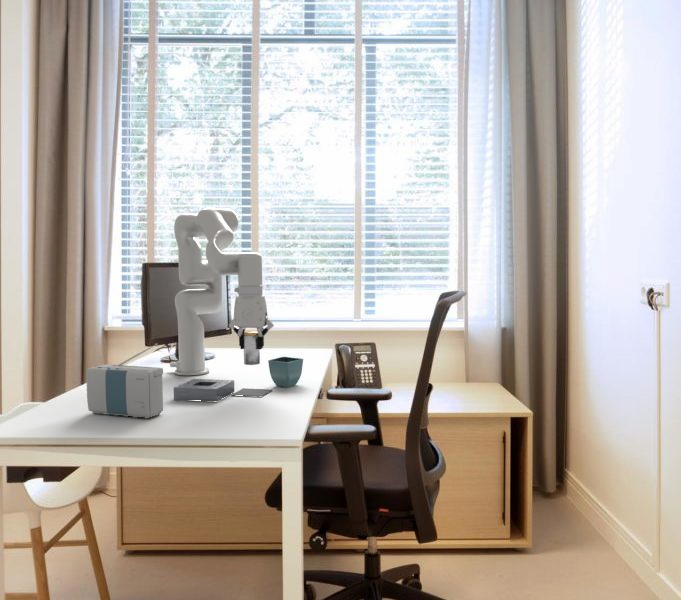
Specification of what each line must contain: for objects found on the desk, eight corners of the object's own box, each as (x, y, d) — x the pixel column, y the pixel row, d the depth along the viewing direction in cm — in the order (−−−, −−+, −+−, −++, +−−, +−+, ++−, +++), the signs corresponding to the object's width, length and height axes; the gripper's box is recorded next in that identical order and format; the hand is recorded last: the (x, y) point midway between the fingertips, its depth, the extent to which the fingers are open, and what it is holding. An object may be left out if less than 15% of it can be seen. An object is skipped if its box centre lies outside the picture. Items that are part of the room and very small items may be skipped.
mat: (231, 396, 196) (231, 394, 196) (243, 389, 205) (243, 388, 205) (261, 397, 194) (261, 396, 194) (272, 390, 203) (272, 389, 203)
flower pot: (288, 389, 206) (288, 362, 205) (267, 386, 210) (267, 360, 210) (304, 384, 213) (303, 358, 212) (283, 382, 218) (283, 356, 217)
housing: (173, 400, 190) (173, 387, 190) (194, 390, 204) (193, 378, 203) (216, 402, 187) (216, 389, 187) (234, 392, 201) (234, 380, 200)
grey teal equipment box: (86, 414, 173) (83, 343, 172) (107, 408, 181) (104, 339, 180) (148, 421, 166) (146, 346, 165) (167, 414, 174) (165, 342, 172)
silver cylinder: (241, 364, 197) (240, 333, 196) (247, 362, 202) (246, 331, 201) (256, 365, 196) (256, 333, 195) (262, 362, 201) (261, 331, 200)
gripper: (220, 292, 195) (221, 349, 197) (272, 292, 192) (273, 350, 193) (229, 291, 203) (231, 346, 204) (279, 291, 199) (280, 347, 200)
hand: (251, 348), depth 198 cm, fingers closed on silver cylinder, 5 cm apart
